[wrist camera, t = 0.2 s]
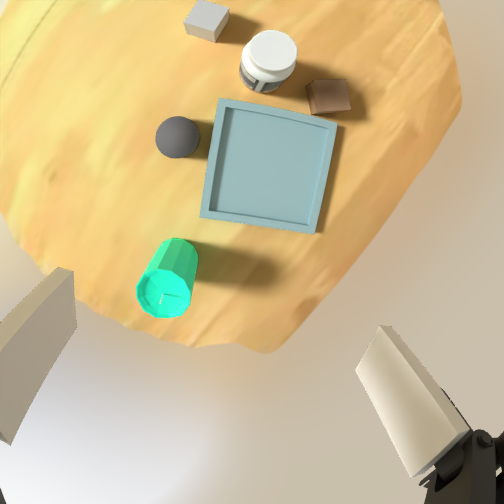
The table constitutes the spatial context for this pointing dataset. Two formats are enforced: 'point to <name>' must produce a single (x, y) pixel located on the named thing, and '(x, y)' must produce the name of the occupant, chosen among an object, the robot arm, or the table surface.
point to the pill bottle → (267, 61)
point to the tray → (267, 166)
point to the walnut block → (328, 96)
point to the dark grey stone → (177, 137)
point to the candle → (168, 279)
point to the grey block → (206, 20)
